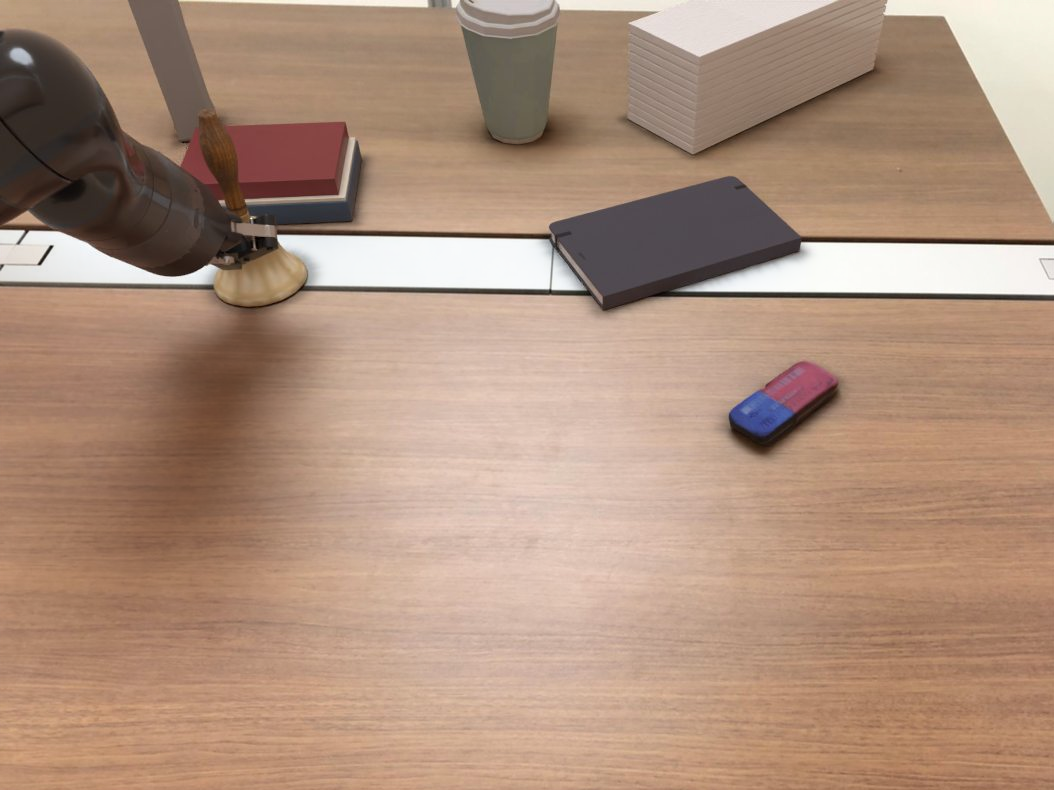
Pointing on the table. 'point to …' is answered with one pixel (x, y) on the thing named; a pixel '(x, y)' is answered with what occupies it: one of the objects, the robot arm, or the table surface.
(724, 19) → the stack of papers
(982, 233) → the table surface
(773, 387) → the eraser
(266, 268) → the hand bell
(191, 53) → the tall grey plank
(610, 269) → the notebook
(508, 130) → the disposable coffee cup
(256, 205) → the book stack
